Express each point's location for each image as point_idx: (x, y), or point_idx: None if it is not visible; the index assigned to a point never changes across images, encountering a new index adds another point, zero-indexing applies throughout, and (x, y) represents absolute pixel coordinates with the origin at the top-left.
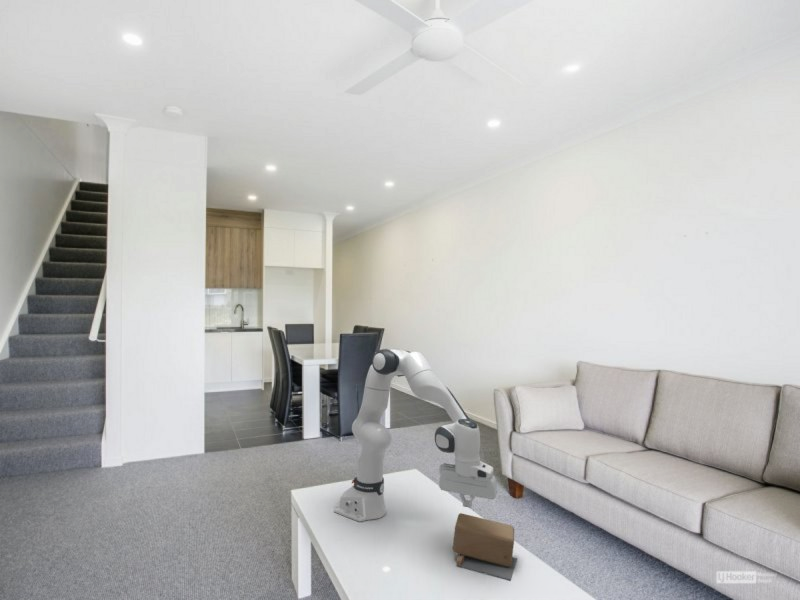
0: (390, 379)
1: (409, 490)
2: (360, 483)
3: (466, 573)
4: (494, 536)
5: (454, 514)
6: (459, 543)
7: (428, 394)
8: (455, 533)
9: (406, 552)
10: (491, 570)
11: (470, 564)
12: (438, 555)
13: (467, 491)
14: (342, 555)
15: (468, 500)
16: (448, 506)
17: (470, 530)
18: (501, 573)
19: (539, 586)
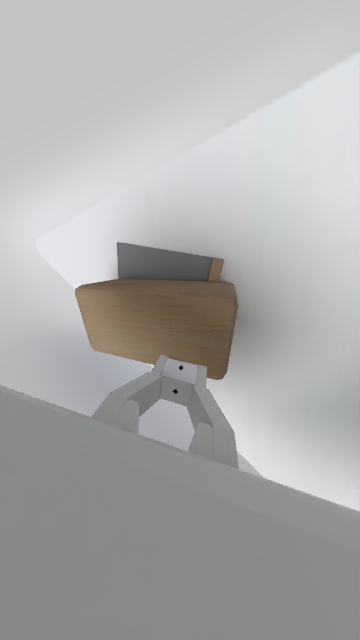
0: None
1: (315, 478)
2: None
3: (199, 238)
4: (114, 288)
5: (230, 416)
6: (218, 285)
7: None
8: (233, 292)
9: (357, 284)
10: (152, 261)
11: (193, 271)
12: (265, 291)
13: (115, 498)
14: None
15: (171, 401)
16: (241, 435)
17: (180, 293)
18: (134, 257)
19: (75, 242)
